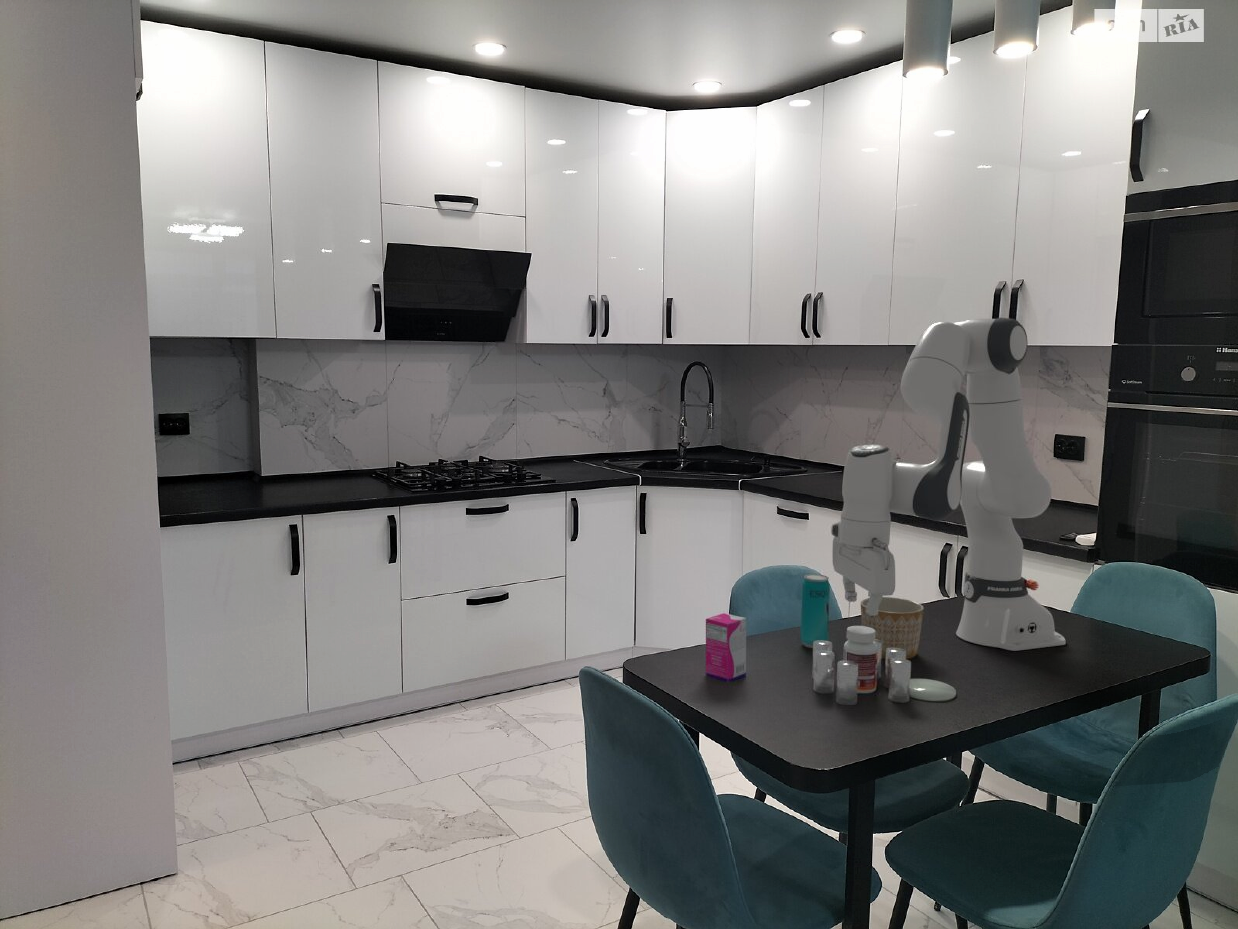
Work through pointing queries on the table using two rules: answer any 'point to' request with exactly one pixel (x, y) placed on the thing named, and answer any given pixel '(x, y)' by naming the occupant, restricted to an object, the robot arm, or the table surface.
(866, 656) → the pill bottle
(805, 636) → the beverage can
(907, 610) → the planter
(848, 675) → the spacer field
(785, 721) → the table surface
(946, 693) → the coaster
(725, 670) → the supplement box
